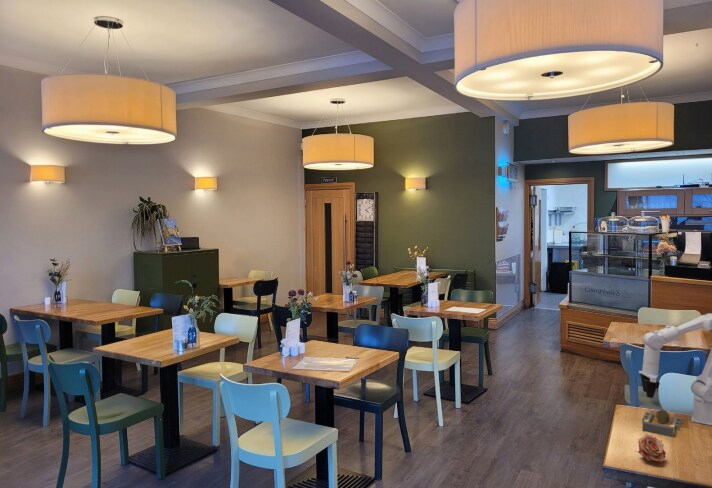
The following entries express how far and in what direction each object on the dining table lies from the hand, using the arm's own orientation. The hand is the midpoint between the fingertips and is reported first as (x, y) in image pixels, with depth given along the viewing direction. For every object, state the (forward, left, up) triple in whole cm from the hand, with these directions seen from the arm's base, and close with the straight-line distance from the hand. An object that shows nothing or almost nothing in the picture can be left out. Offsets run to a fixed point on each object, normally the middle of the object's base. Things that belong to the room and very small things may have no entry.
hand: (648, 394), depth 223 cm
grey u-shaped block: (-5, +4, -10) cm, 12 cm away
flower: (-7, +41, -11) cm, 43 cm away
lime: (-5, 0, -11) cm, 12 cm away
